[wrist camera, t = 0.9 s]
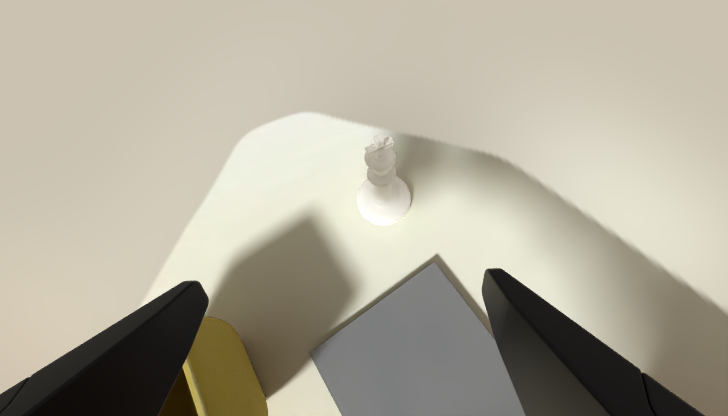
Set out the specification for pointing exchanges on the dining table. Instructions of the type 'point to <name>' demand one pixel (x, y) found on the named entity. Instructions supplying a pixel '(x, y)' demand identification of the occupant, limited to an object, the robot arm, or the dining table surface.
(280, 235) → the dining table surface
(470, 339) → the slate tile
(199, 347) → the flower pot
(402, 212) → the chess piece
